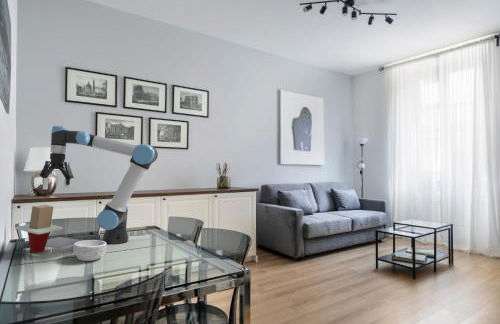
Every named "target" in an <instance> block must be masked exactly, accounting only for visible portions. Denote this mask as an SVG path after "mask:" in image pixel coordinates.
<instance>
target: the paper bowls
mask: <svg viewBox="0 0 500 324" xmlns="http://www.w3.org/2000/svg"><path fill="white" fill-rule="evenodd" d="M82 240H83V241H78V242H75V243H74V244H73V246H72V254H73V256H75V257H76V258H77V260H79V261H82V262H92V261H96V260H99V259H100V258H101V257H102V255H105V253H106V252H107V245H108V243H106V242H104V241H102V240H100V239H85V240H84V239H82Z"/></svg>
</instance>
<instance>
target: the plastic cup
mask: <svg viewBox="0 0 500 324" xmlns="http://www.w3.org/2000/svg"><path fill="white" fill-rule="evenodd" d="M50 233H51V232H48V233H43V234H34V233H30V232H27V234H28V244H29V248H30V249H29V250H30V253H43V252H45V249H46V247H45V246H46V243H47V240H48V239H49V236H50Z"/></svg>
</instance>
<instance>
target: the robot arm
mask: <svg viewBox="0 0 500 324" xmlns="http://www.w3.org/2000/svg"><path fill="white" fill-rule="evenodd" d="M50 135H51V137H50V138H51V139H50V152H51V153H49V159H50V160H45V161H44V165H43V168H42V169H41V172H40V173H39V177H41V178H42V181H41V182H42V190H48V189H49V176H50V175H51V173H53V171H54V170H58V171H60V173H61V174H62V175H63V177H64V178H65V179H64V180H63V192H68V191H69V187H70V184H71V180H72V179H74V175H73V172H72V169H71V167H70V161H65V160H66V152H67V144H71V145H72V144H74V145H81V146H86V147H90V148H94V149H99V150H103V151H106V152H111V153H115V154H119V155H123V156H127V157H131V158H130V159H129V164H130V165H129V167H128V169H127V171H126V173H125V175H124V176H123V178H122V180H121V181H120V183H119V186H118V187H117V190H116V191H115V194H113V197H112V199H111V201H109V202H107V203H106V204H105V206H104V208H103V209H102V211H100V212H99V213H98V215H97V217H96V222H97V225H98V226H99V228H101V229H102V230H104V233H103V236H102V237H101V238H102V239H101V241H104V242H106V243H107V245H109V244H110V245H114V244H115V245H119V244H124V243H123V242H125V243H127V242H126V241H128V242H129V234H128V230H127V223H128V211H129V209H128V208H129V207H128V202H130V201H129V200H130V199H131V197H132V195H133V193H134V191H135V189H136V187H137V186H138V185H139V182H140V180H141V178H142V177H143V175H144V174H145V172H146V171H148V170H149V169H150V167H151V165H152V164H153V163H155V162H156V161H157V159H158V150H157V149H156V148H155V147H154V146H153V145H150V144H147V143H141V144H137V145H136V144H132V143H128V142H123V141H120V140H119V141H118V140H116V139H111V138H106V137H104V136H99V135H95V134H91V133H89V131H88V132H87V131H85V130H68V128H67V126H61V125H54V126H52V127H51V133H50Z"/></svg>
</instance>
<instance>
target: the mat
mask: <svg viewBox="0 0 500 324" xmlns="http://www.w3.org/2000/svg"><path fill="white" fill-rule="evenodd" d="M83 240H84V239H76V238H71V237H69V238H68V237H62V236H58V237H52V238H48V240H47V243H46V246H45V248H46V247H47V248H52V249H62V248H66V247H69V246H72V245H73V244H74V243H75V242H78V241H83Z"/></svg>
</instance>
